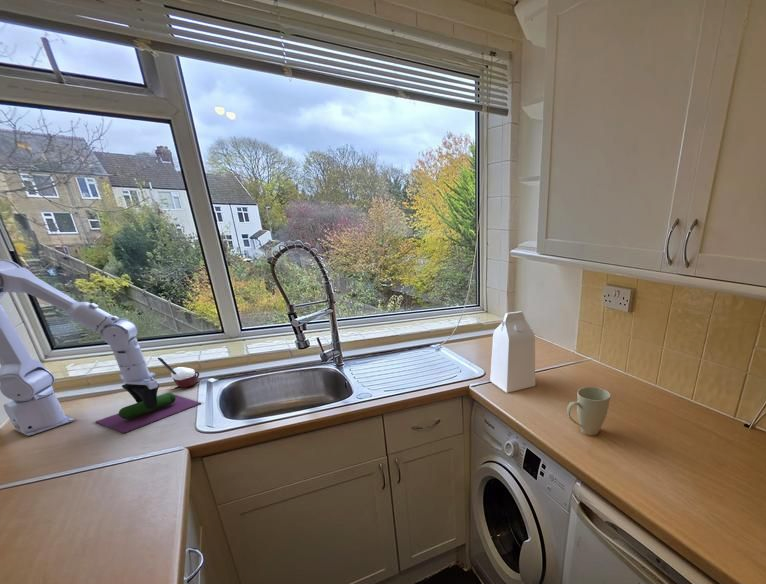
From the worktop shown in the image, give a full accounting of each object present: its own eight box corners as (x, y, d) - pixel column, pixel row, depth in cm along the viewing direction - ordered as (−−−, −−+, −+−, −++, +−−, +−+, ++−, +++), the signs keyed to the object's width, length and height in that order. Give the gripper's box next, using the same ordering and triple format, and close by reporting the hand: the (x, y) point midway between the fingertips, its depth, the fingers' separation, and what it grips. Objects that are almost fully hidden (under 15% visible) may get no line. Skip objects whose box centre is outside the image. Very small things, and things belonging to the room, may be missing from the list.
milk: (517, 374, 153) (519, 307, 143) (535, 385, 145) (538, 314, 134) (490, 381, 147) (490, 310, 137) (506, 392, 139) (508, 318, 128)
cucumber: (125, 422, 114) (120, 411, 113) (118, 419, 115) (113, 408, 114) (179, 402, 126) (176, 392, 124) (172, 400, 127) (169, 390, 126)
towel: (123, 433, 110) (123, 432, 110) (95, 422, 115) (95, 421, 115) (201, 403, 127) (200, 402, 126) (173, 395, 132) (173, 394, 131)
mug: (576, 419, 122) (580, 383, 117) (609, 428, 118) (614, 390, 113) (563, 436, 113) (567, 398, 108) (598, 446, 109) (603, 406, 104)
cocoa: (200, 379, 143) (190, 347, 138) (204, 384, 139) (194, 352, 134) (166, 387, 137) (154, 353, 132) (170, 393, 133) (158, 358, 128)
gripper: (163, 362, 115) (178, 405, 120) (133, 354, 120) (149, 396, 126) (133, 371, 109) (151, 415, 115) (104, 362, 114) (122, 405, 120)
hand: (148, 406), depth 120 cm, fingers closed on cucumber, 3 cm apart
